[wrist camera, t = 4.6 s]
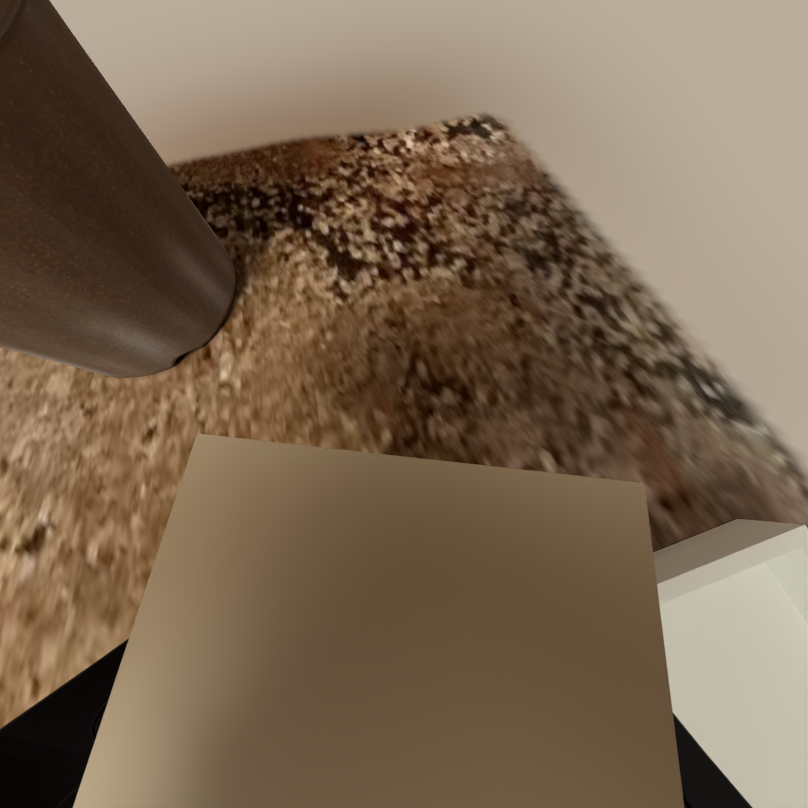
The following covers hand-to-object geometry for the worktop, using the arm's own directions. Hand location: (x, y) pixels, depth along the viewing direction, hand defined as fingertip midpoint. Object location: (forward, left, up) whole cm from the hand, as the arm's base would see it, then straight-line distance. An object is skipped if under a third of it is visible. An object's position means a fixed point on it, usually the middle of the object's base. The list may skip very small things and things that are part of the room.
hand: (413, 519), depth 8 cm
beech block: (-1, +1, -7) cm, 7 cm away
